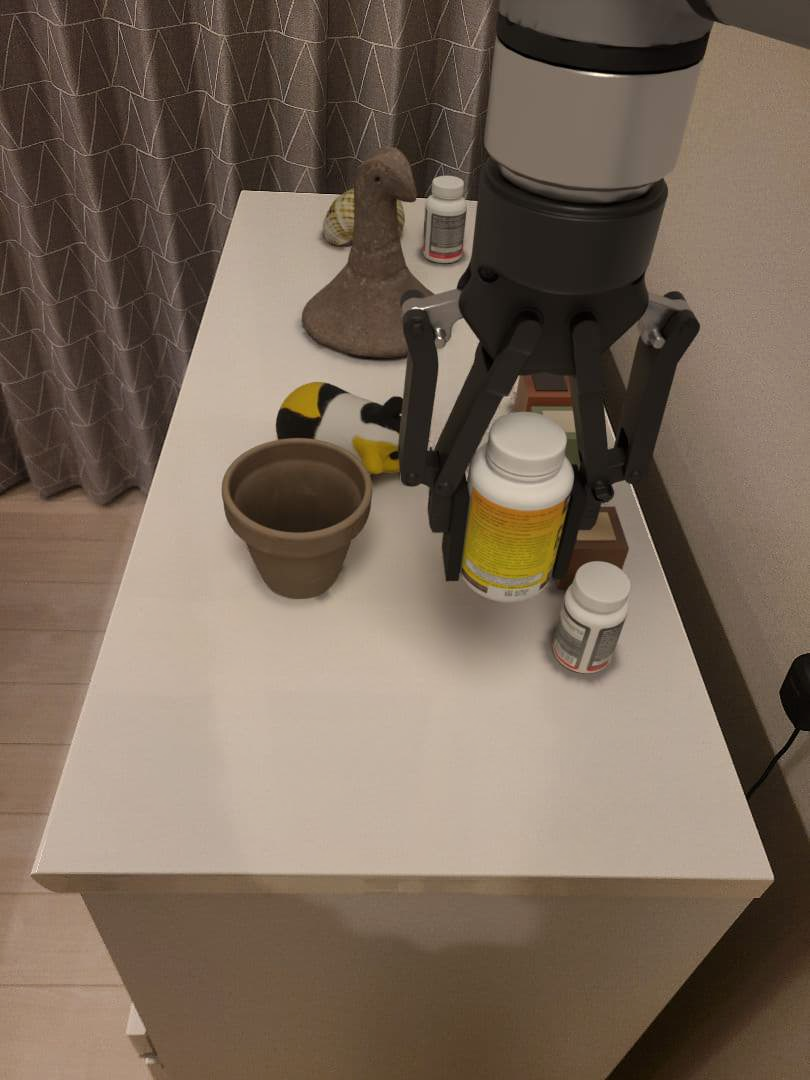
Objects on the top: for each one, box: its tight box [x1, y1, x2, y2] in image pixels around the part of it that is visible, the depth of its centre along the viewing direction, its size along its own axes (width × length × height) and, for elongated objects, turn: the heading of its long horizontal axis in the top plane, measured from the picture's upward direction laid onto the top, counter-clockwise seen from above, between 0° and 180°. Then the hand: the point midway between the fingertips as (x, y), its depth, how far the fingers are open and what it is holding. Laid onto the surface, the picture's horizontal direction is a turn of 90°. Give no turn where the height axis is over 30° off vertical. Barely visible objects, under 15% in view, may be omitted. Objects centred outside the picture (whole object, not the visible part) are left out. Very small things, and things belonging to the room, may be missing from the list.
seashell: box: [322, 187, 406, 246], centre depth 112 cm, size 10×10×10 cm
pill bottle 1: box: [422, 175, 468, 264], centre depth 108 cm, size 5×5×10 cm
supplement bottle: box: [460, 411, 574, 603], centre depth 46 cm, size 6×6×10 cm
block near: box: [555, 505, 630, 591], centre depth 70 cm, size 5×5×5 cm
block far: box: [530, 406, 580, 469], centre depth 80 cm, size 5×5×5 cm
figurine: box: [275, 381, 403, 475], centre depth 78 cm, size 8×15×8 cm, turn 64°
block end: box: [513, 372, 572, 412], centre depth 85 cm, size 5×5×5 cm
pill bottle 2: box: [551, 561, 632, 674], centre depth 63 cm, size 5×5×8 cm
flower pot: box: [221, 438, 374, 599], centre depth 67 cm, size 12×11×10 cm
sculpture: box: [301, 145, 436, 359], centre depth 92 cm, size 17×17×20 cm
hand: (502, 562), depth 49 cm, fingers closed on supplement bottle, 6 cm apart
